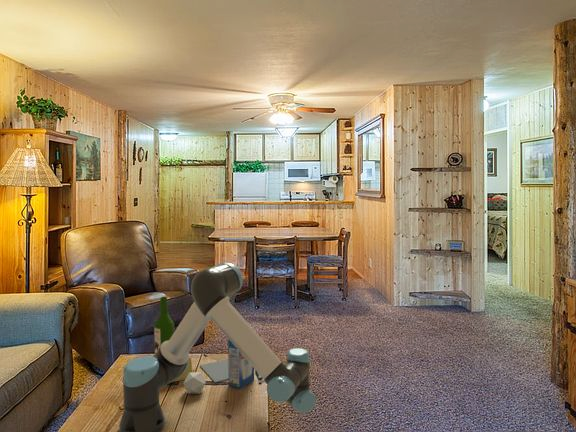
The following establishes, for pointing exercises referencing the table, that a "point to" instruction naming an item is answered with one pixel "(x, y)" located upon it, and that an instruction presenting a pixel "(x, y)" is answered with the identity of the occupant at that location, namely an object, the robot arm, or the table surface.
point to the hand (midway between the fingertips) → (255, 361)
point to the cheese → (186, 372)
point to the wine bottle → (163, 325)
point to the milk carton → (238, 368)
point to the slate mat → (217, 370)
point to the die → (194, 383)
